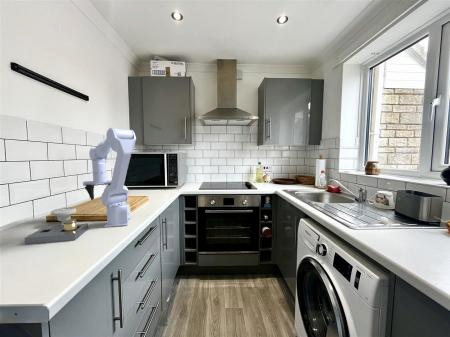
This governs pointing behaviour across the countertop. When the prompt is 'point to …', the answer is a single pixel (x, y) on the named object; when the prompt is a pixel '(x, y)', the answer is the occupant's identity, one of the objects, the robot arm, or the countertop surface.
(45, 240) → the fitting plate
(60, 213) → the showerhead
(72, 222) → the pipe stub
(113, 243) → the countertop surface
